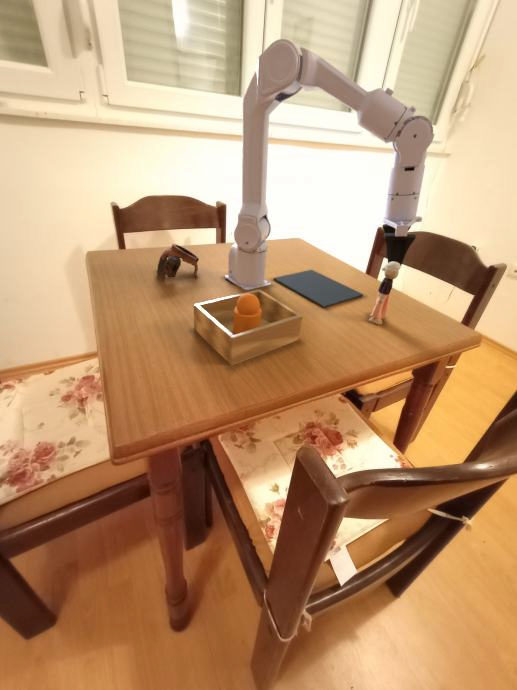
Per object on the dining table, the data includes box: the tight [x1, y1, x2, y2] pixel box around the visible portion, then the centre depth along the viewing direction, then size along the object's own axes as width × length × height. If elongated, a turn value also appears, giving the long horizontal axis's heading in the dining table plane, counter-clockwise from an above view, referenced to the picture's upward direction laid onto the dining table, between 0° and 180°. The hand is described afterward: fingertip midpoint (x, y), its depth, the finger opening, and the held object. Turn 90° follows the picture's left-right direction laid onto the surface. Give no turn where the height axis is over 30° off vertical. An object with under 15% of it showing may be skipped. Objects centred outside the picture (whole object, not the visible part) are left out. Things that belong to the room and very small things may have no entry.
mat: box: [273, 269, 364, 309], centre depth 79 cm, size 18×14×1 cm
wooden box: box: [193, 288, 304, 366], centre depth 56 cm, size 13×15×6 cm
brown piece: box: [156, 243, 200, 280], centre depth 77 cm, size 12×10×8 cm
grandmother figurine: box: [368, 261, 402, 326], centre depth 64 cm, size 8×4×13 cm, turn 168°
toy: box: [233, 293, 262, 335], centre depth 55 cm, size 5×5×8 cm
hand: (392, 263), depth 67 cm, fingers open, 7 cm apart
